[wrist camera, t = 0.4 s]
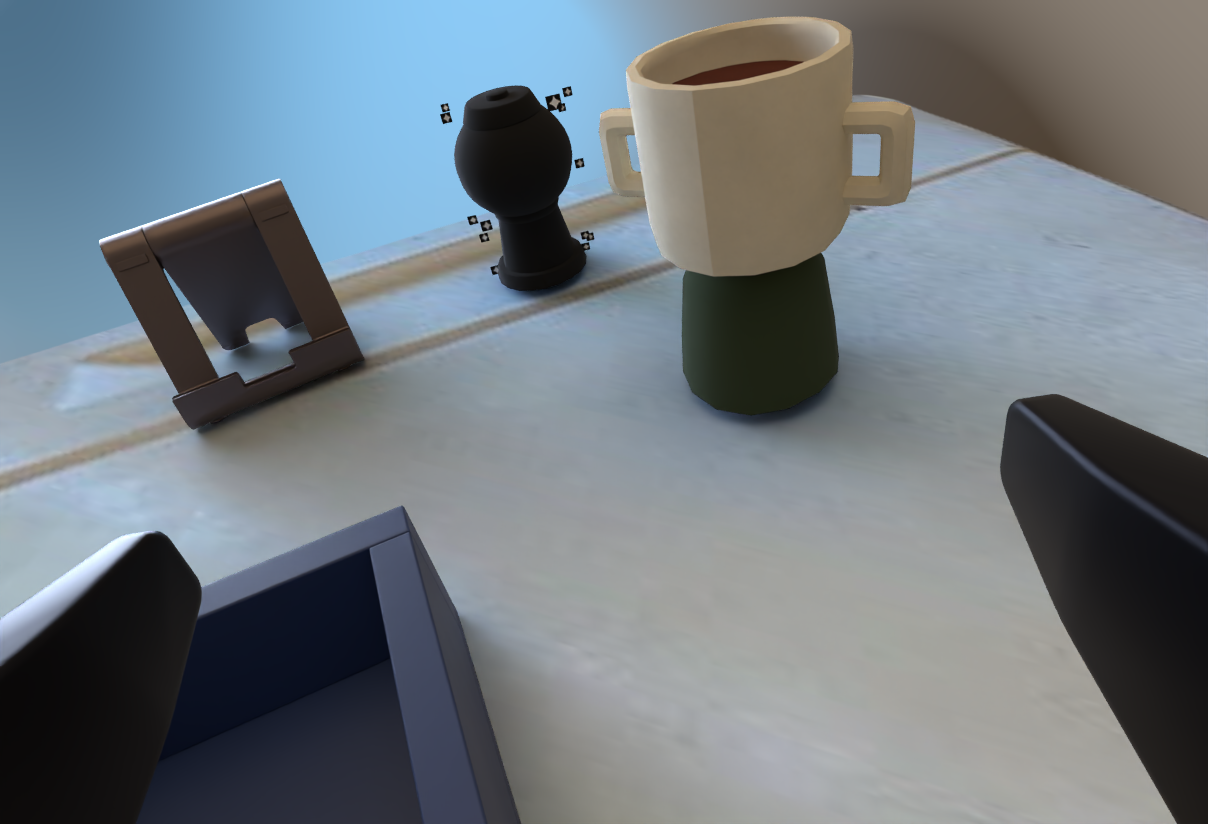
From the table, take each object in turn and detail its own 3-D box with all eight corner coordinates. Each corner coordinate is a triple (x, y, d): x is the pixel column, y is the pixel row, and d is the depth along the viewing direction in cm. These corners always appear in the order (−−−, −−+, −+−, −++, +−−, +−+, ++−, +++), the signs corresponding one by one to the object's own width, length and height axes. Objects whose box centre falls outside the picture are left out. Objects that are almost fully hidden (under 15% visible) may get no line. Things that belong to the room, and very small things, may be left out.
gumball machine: (600, 237, 45) (562, 59, 39) (614, 285, 40) (574, 91, 34) (489, 263, 45) (434, 90, 39) (490, 314, 40) (428, 126, 34)
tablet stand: (191, 439, 36) (86, 288, 31) (187, 365, 42) (97, 228, 37) (367, 366, 39) (295, 213, 34) (340, 305, 45) (275, 167, 39)
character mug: (916, 345, 32) (943, 1, 24) (875, 459, 27) (891, 81, 19) (676, 317, 37) (631, 26, 29) (608, 409, 32) (533, 94, 24)
